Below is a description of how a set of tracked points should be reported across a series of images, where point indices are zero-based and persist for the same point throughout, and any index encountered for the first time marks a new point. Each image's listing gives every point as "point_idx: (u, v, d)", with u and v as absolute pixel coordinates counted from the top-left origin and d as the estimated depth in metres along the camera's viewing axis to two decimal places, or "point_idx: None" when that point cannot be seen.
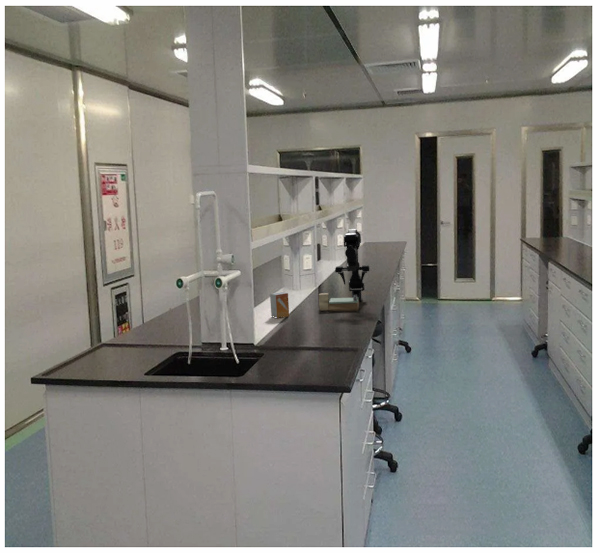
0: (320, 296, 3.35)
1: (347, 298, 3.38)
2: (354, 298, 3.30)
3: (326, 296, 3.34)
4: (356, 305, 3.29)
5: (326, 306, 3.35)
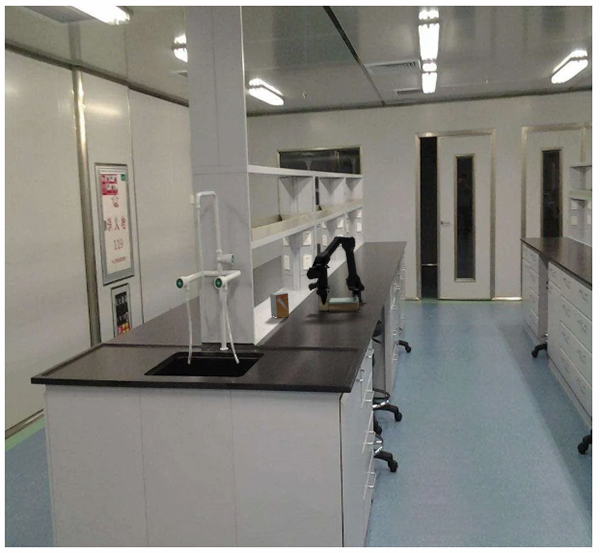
0: None
1: (347, 298, 3.38)
2: (354, 298, 3.30)
3: None
4: (356, 305, 3.29)
5: (326, 306, 3.35)
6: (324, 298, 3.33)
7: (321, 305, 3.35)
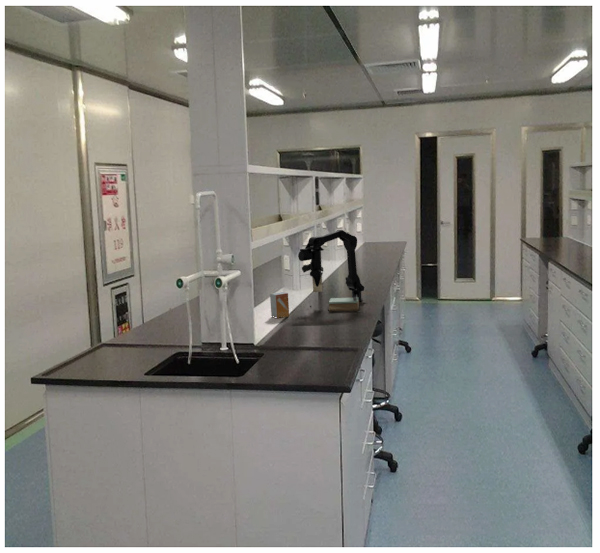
0: (313, 278, 3.39)
1: (347, 298, 3.38)
2: (354, 298, 3.30)
3: None
4: (356, 305, 3.29)
5: (319, 287, 3.40)
6: (318, 280, 3.38)
7: (315, 287, 3.40)
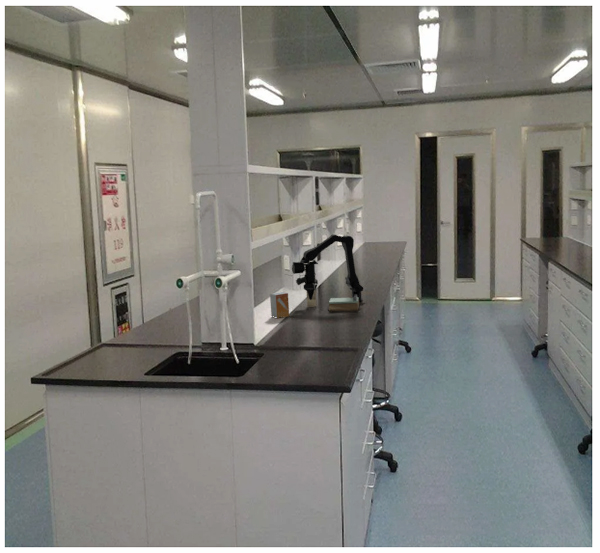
0: None
1: (347, 298, 3.38)
2: (354, 298, 3.30)
3: (313, 293, 3.47)
4: (356, 305, 3.29)
5: (313, 302, 3.48)
6: (311, 293, 3.44)
7: (309, 302, 3.49)
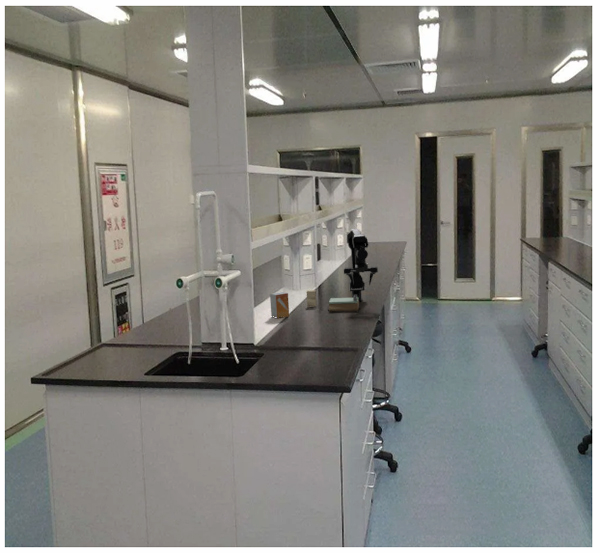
0: (308, 293, 3.48)
1: (347, 298, 3.38)
2: (354, 298, 3.30)
3: (313, 293, 3.47)
4: (356, 305, 3.29)
5: (313, 302, 3.48)
6: None
7: (309, 302, 3.49)
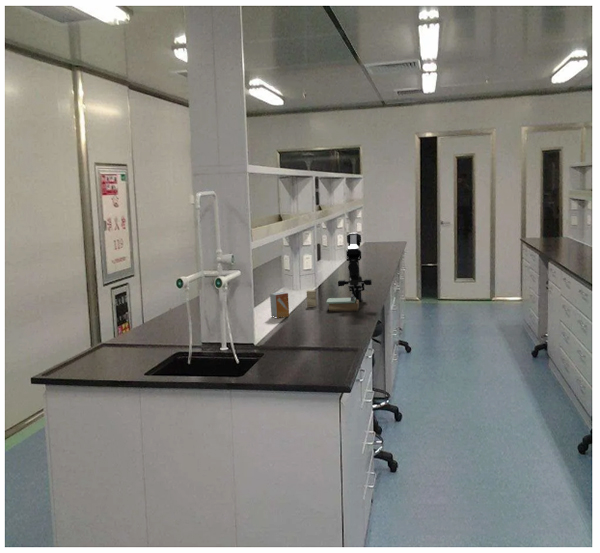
0: (308, 293, 3.48)
1: (344, 298, 3.39)
2: (351, 298, 3.31)
3: (313, 293, 3.47)
4: (356, 305, 3.29)
5: (313, 302, 3.48)
6: (357, 290, 3.34)
7: (309, 302, 3.49)
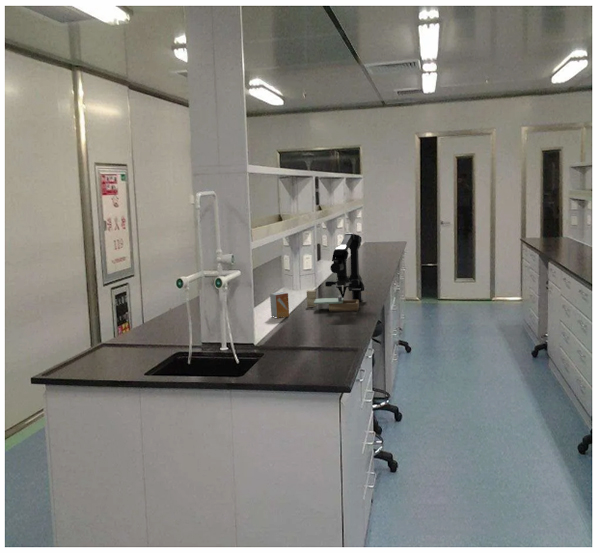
0: (308, 293, 3.48)
1: (332, 298, 3.40)
2: (339, 298, 3.32)
3: (313, 293, 3.47)
4: (356, 305, 3.29)
5: (313, 302, 3.48)
6: (345, 290, 3.35)
7: (309, 302, 3.48)
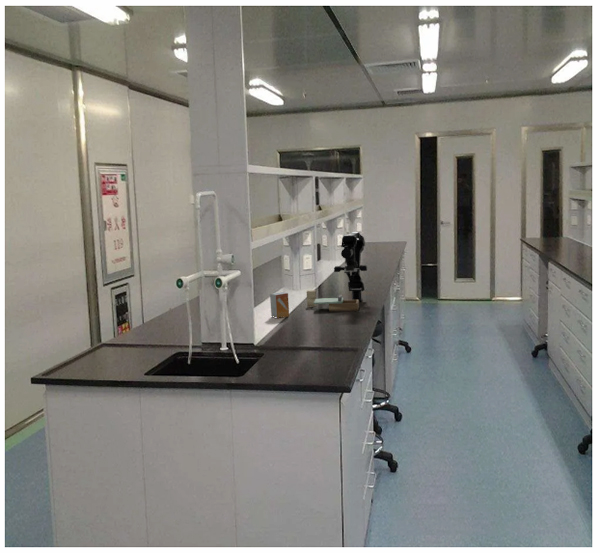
0: (308, 293, 3.48)
1: (332, 298, 3.40)
2: (339, 298, 3.32)
3: (313, 293, 3.47)
4: (356, 305, 3.29)
5: (313, 302, 3.48)
6: (353, 276, 3.43)
7: (309, 302, 3.49)
